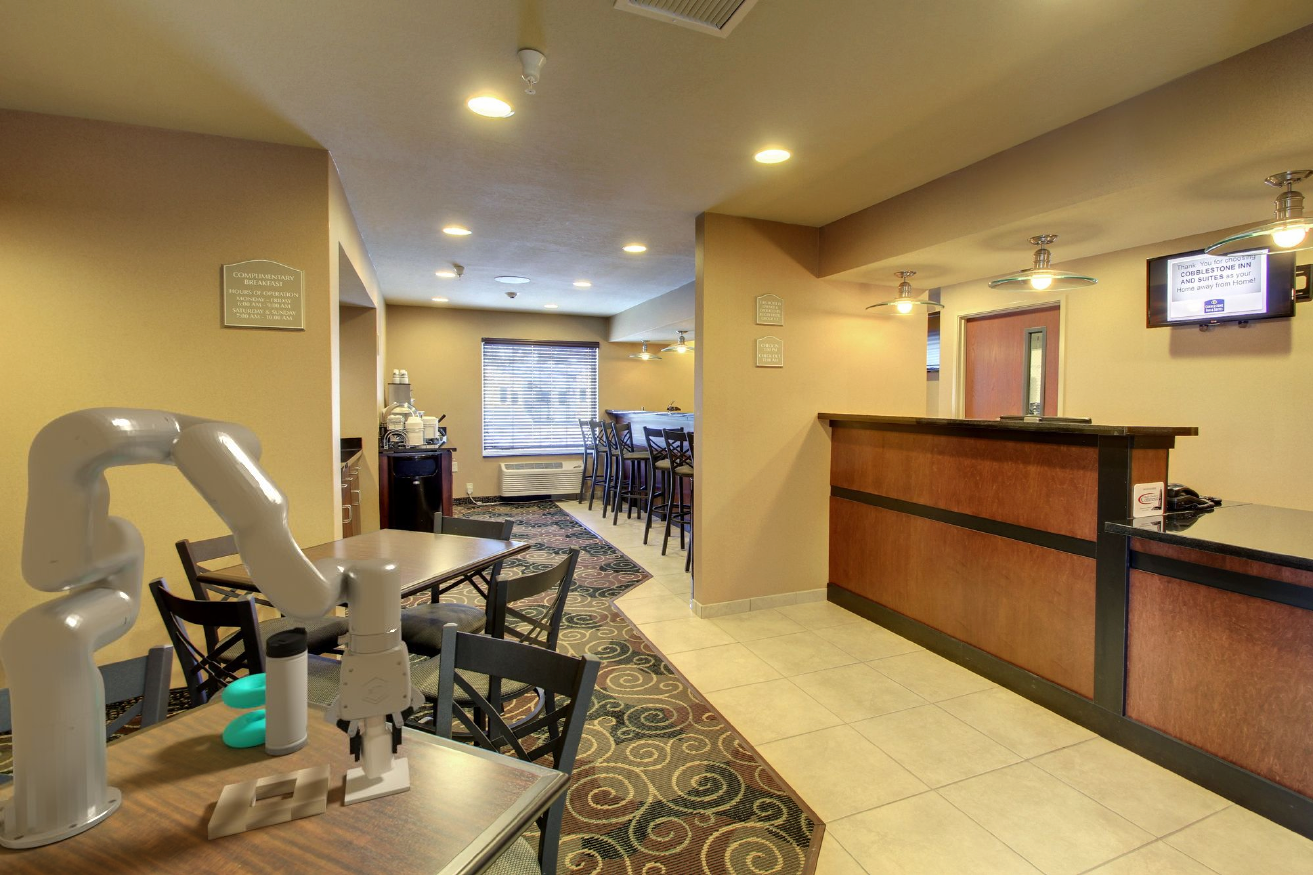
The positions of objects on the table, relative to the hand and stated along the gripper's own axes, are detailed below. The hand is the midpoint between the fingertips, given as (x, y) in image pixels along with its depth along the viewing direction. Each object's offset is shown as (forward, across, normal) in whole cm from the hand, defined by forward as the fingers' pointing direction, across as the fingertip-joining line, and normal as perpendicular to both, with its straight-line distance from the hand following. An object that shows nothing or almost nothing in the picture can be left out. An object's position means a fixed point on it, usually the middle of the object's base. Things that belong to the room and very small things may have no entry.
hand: (376, 752), depth 96 cm
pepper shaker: (+3, 0, 0) cm, 3 cm away
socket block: (+5, -14, 0) cm, 15 cm away
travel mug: (+5, -14, +18) cm, 24 cm away
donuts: (+5, -20, +25) cm, 32 cm away
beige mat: (+5, 0, 0) cm, 5 cm away
